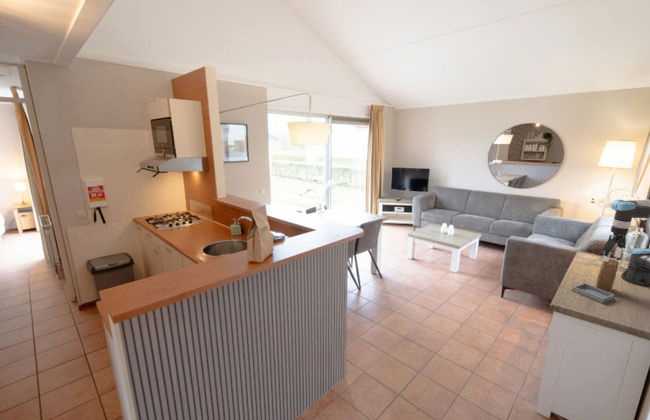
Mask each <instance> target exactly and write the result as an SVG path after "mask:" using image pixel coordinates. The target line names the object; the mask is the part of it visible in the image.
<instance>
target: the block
mask: <svg viewBox="0 0 650 420" xmlns="http://www.w3.org/2000/svg"><path fill="white" fill-rule="evenodd" d="M618 267H619V261H617V260H615V259H611V258H609V261H608V262H607V261H604V260H602V264H601V266H600V268H599V272H598V275H597V279H596V283H595V287H596V288H599V289H602V290H604V291H607V292H609V293H612V289H613V287H614V283H615V279H616V275H617V271H618Z"/></svg>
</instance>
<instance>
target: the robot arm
mask: <svg viewBox="0 0 650 420" xmlns="http://www.w3.org/2000/svg"><path fill="white" fill-rule="evenodd" d="M610 205H611V206H610V207H611V210H613V211H615V213H614V218H613V219H612V225H611V228H610V232H611V233H613V234H612V235H611V234H609V237H608V239H607V240H606V243H605V245H604V246H603V249H602V251H604V253H603V257H602V259H601V260H602V261H607V262H608V261H609V259H611V258H610V256H611V253H612V250H613V248H614V247H615V246H616V245H617V246H616V248H615V252H614V255H613V257H614V258H617V259H621V256H622V252H623V250H624V249H626V243H627V241H626V239H627V235H628V233H629V231H630V230H629V228H630V227H631V224H632V219H646V220H647V219H650V199H639V200H623V199H616V200H613V201H612V202H611V204H610ZM620 278H621V280H623V281H626V282H627V283H630V284H633V285H637V286H640V287H641V286H643V287H650V248H643V247H636V248H633V249H632V251H631V253H630V258H629V261H628V264H627V267H626V268H625V269H624V271H623V272H622V273H621V276H620Z"/></svg>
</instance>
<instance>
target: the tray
mask: <svg viewBox="0 0 650 420" xmlns="http://www.w3.org/2000/svg"><path fill="white" fill-rule="evenodd" d="M571 291H572V292H573V293H576V294H578V295H581V296H583V297H586V298H588V299H589V300H592V301H595V302H596V303H600V304H604V303H607V302H610V301H612V300H614V299H615V298H614V297H615V294H614V293H612V292H607V291H604V290H602V289H599V288H596V286H594V285H591V284H588V283H586V282H582V283H580V284H577V285H574V286H572V290H571Z"/></svg>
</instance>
